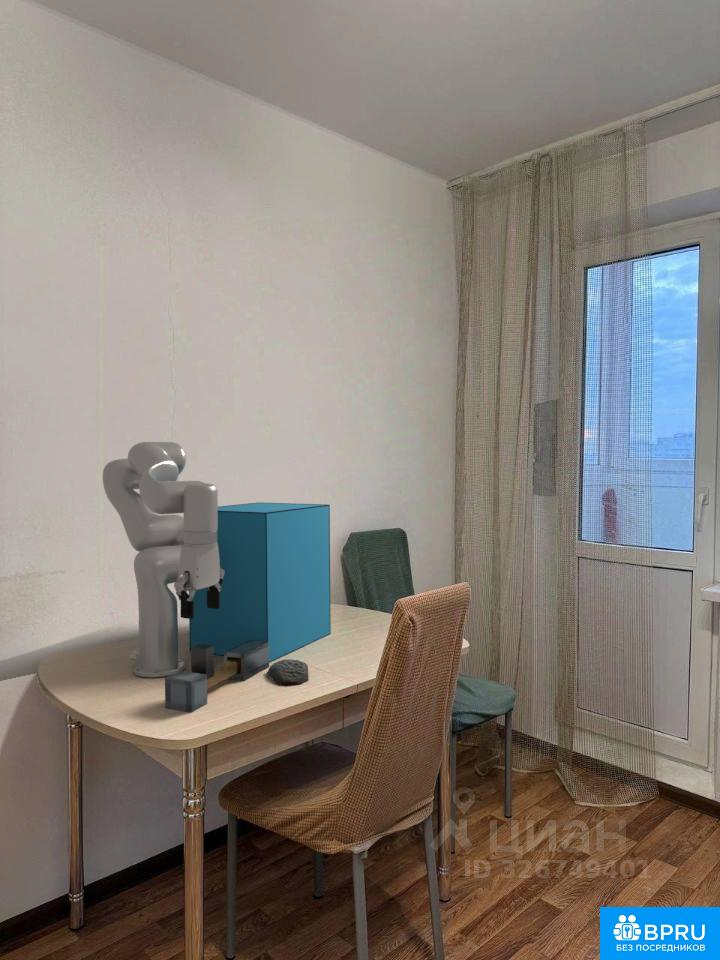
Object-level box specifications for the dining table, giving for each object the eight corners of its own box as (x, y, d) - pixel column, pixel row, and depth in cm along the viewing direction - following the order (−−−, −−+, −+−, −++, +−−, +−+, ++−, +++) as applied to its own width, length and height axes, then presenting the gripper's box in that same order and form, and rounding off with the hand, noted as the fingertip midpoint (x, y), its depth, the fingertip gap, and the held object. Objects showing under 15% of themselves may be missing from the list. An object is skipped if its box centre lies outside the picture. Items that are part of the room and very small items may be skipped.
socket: (165, 707, 146) (164, 678, 146) (181, 699, 151) (180, 670, 151) (191, 712, 143) (191, 682, 143) (207, 703, 148) (206, 674, 148)
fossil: (307, 669, 173) (307, 654, 173) (309, 686, 160) (309, 670, 160) (268, 671, 172) (268, 656, 172) (266, 688, 159) (266, 672, 159)
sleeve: (224, 678, 165) (224, 652, 165) (250, 664, 176) (250, 639, 176) (244, 681, 163) (243, 654, 163) (269, 666, 174) (269, 641, 174)
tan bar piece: (176, 696, 147) (175, 653, 147) (232, 667, 167) (232, 629, 167) (191, 699, 145) (190, 655, 145) (246, 669, 166) (245, 631, 165)
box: (330, 634, 207) (329, 504, 206) (267, 663, 177) (266, 512, 176) (259, 624, 219) (258, 502, 218) (189, 651, 189) (187, 509, 188)
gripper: (209, 532, 161) (209, 603, 162) (162, 542, 145) (162, 620, 146) (236, 534, 158) (235, 606, 159) (190, 544, 142) (190, 624, 143)
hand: (200, 613), depth 153 cm, fingers open, 9 cm apart
